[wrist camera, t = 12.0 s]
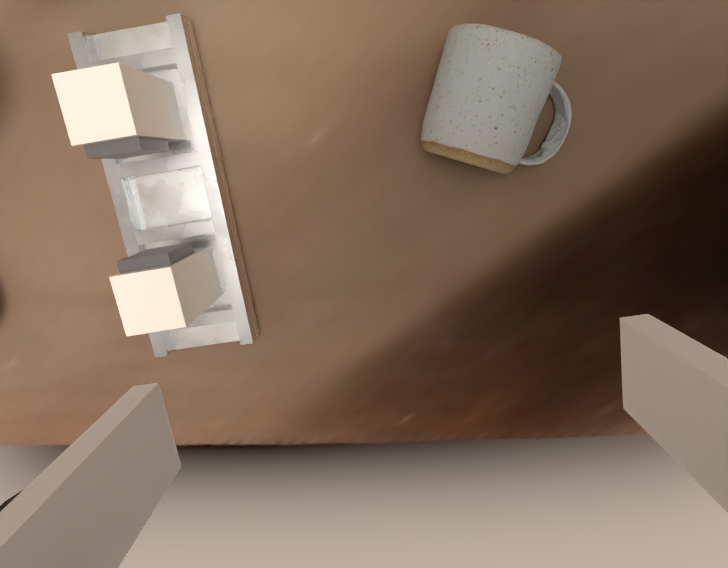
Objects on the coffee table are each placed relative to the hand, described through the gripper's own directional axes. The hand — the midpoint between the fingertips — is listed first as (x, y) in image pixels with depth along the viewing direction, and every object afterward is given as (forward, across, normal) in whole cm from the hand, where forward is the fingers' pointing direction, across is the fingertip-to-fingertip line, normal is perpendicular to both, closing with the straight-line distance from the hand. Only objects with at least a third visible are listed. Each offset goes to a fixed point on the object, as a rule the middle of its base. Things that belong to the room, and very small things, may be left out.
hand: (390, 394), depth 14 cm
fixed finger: (+25, +15, -12) cm, 32 cm away
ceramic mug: (+27, -10, -9) cm, 30 cm away
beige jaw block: (+26, +15, 0) cm, 30 cm away
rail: (+27, +15, -6) cm, 31 cm away
